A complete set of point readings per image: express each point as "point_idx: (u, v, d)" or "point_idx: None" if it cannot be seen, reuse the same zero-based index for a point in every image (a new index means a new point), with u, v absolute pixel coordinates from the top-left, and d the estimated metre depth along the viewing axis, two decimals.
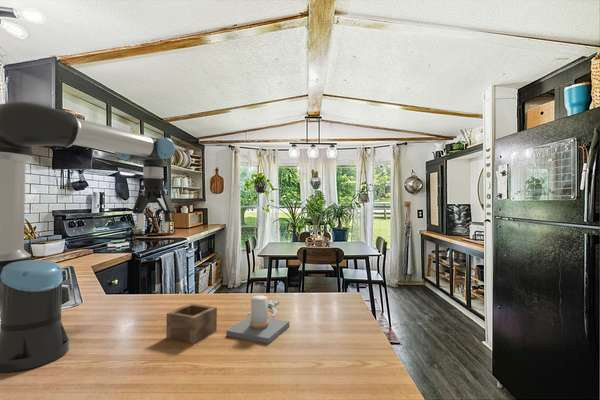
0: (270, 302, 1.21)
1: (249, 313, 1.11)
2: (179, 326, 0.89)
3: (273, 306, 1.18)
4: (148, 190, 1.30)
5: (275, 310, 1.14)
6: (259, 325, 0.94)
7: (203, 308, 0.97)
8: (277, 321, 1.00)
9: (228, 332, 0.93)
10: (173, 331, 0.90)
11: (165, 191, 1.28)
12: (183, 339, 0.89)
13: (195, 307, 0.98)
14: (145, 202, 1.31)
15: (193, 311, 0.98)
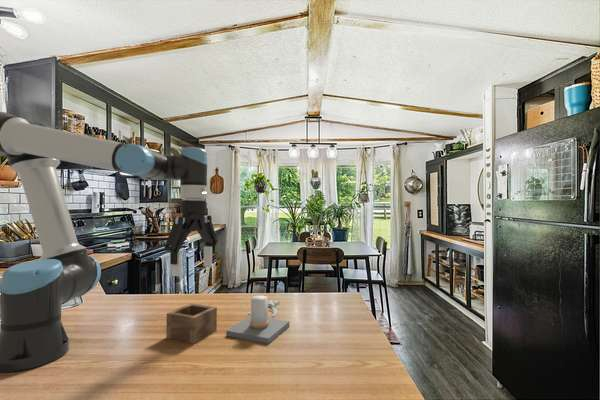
0: (270, 302, 1.21)
1: (249, 313, 1.11)
2: (179, 326, 0.89)
3: (273, 306, 1.18)
4: None
5: (275, 310, 1.14)
6: (259, 325, 0.94)
7: (203, 308, 0.97)
8: (277, 321, 1.00)
9: (228, 332, 0.93)
10: (173, 331, 0.90)
11: (176, 219, 0.88)
12: (183, 339, 0.89)
13: (195, 307, 0.98)
14: (199, 232, 0.98)
15: (193, 311, 0.98)
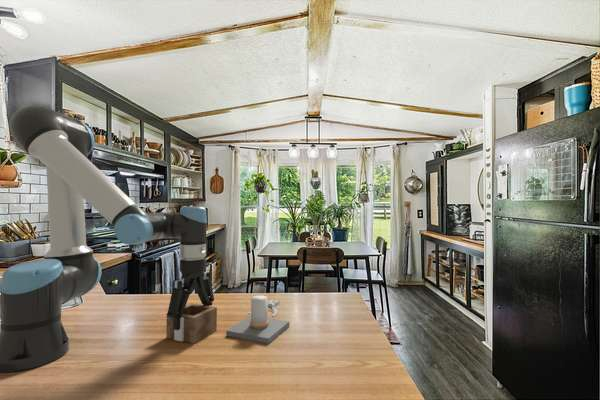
0: (270, 302, 1.21)
1: (249, 313, 1.11)
2: None
3: (273, 306, 1.18)
4: None
5: (275, 310, 1.14)
6: (259, 325, 0.94)
7: (203, 308, 0.97)
8: (277, 321, 1.00)
9: (228, 332, 0.93)
10: (173, 331, 0.90)
11: (175, 284, 0.88)
12: None
13: (195, 307, 0.98)
14: (197, 290, 0.97)
15: (193, 311, 0.98)
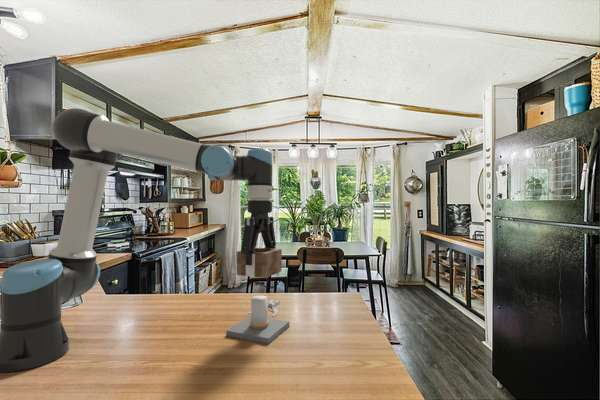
0: (270, 302, 1.21)
1: (249, 313, 1.11)
2: None
3: (273, 306, 1.18)
4: None
5: (275, 310, 1.15)
6: (259, 325, 0.94)
7: (268, 250, 1.00)
8: (277, 321, 1.00)
9: (228, 332, 0.93)
10: (244, 268, 0.93)
11: (247, 221, 0.91)
12: (255, 275, 0.92)
13: (260, 249, 1.01)
14: (262, 233, 1.00)
15: None
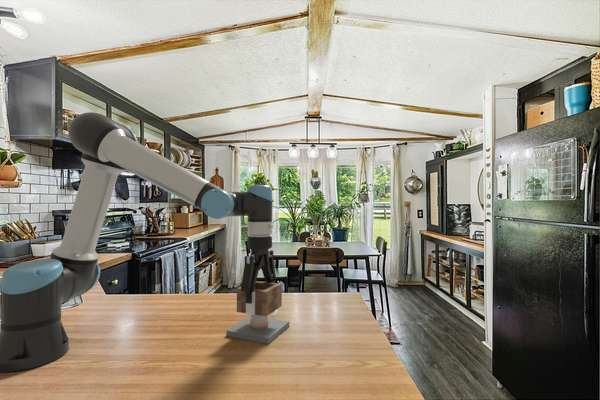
0: None
1: None
2: None
3: None
4: None
5: (275, 310, 1.15)
6: (259, 325, 0.94)
7: (268, 284, 1.00)
8: (277, 321, 1.00)
9: (228, 332, 0.93)
10: (244, 305, 0.93)
11: (248, 259, 0.91)
12: (255, 312, 0.92)
13: (260, 284, 1.01)
14: (262, 267, 1.00)
15: (258, 288, 1.01)
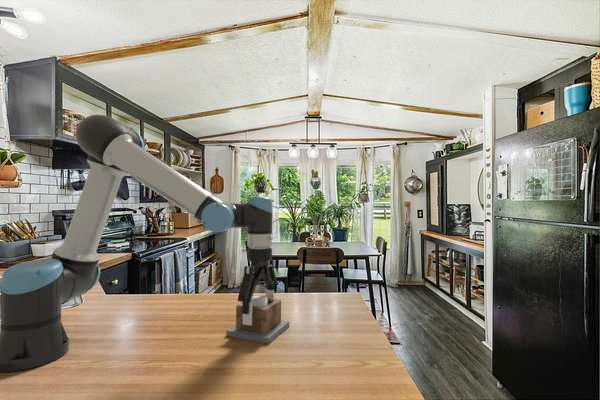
0: None
1: None
2: None
3: None
4: None
5: None
6: None
7: (268, 301, 0.99)
8: None
9: (228, 332, 0.93)
10: None
11: (247, 269, 0.91)
12: (254, 330, 0.91)
13: None
14: (263, 277, 1.00)
15: None
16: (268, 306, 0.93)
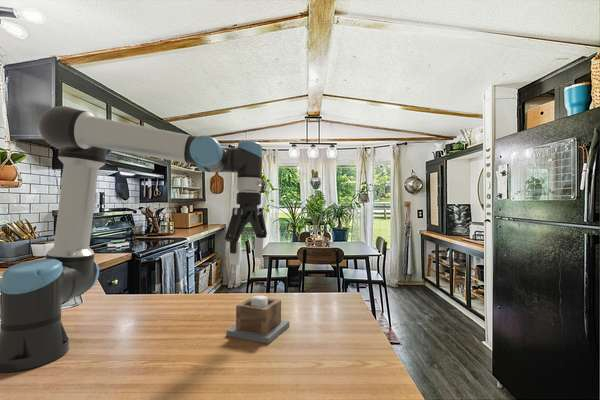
0: None
1: None
2: (250, 318, 0.92)
3: None
4: None
5: None
6: None
7: (268, 301, 0.99)
8: None
9: (228, 332, 0.93)
10: (243, 323, 0.93)
11: (235, 210, 0.91)
12: (254, 330, 0.91)
13: None
14: (252, 224, 1.01)
15: None
16: (268, 306, 0.93)
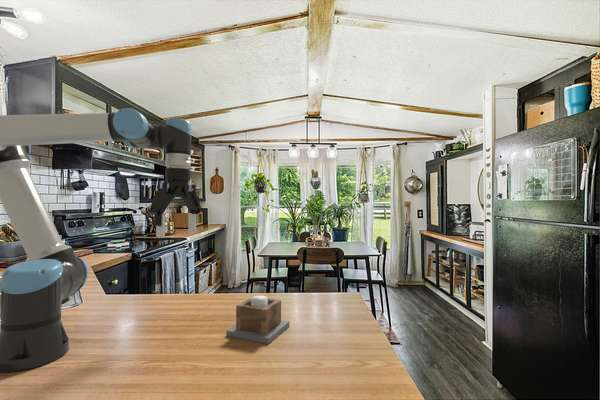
0: None
1: None
2: (250, 318, 0.92)
3: None
4: None
5: None
6: None
7: (268, 301, 0.99)
8: None
9: (228, 332, 0.93)
10: (243, 323, 0.93)
11: (161, 184, 0.94)
12: (254, 330, 0.91)
13: None
14: (184, 200, 1.04)
15: None
16: (268, 306, 0.93)
